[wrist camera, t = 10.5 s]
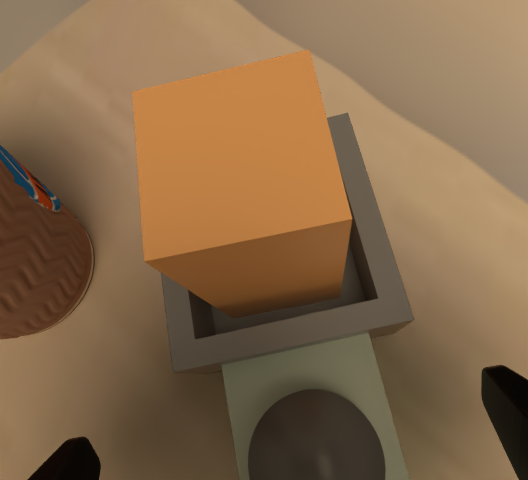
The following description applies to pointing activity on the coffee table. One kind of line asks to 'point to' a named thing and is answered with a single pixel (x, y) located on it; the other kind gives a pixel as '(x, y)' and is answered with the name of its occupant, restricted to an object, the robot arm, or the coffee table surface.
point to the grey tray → (308, 357)
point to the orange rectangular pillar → (243, 187)
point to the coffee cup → (37, 254)
